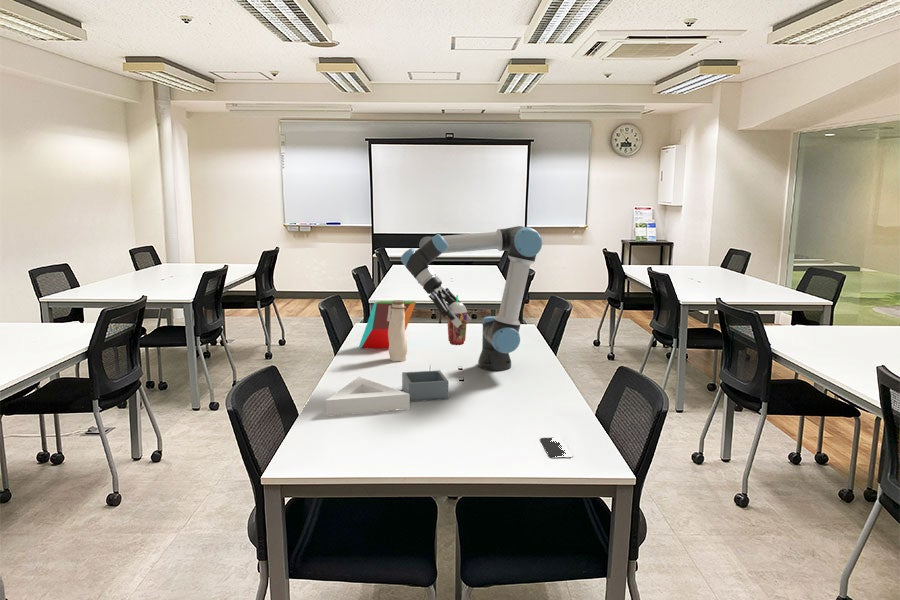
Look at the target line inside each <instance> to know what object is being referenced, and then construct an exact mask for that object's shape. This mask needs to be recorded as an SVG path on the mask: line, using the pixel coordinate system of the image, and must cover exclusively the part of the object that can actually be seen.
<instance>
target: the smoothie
mask: <svg viewBox="0 0 900 600" xmlns="http://www.w3.org/2000/svg"><path fill="white" fill-rule="evenodd" d="M455 297H456V302H454V303H452V304H451V305H450V304H449V306H448V308H449V310H450V312H451V311H452V312H453V313H454V314H455V315H456V317H457V318H458V319H459V320H460V321H461V323H462V324H461V325H460V326H459V327H458V328H457V327H456V326H455V325H454V324H453V323H452V321H451V320H450V319H449V318H448V317H447V316H446V320H447V321H446V323H447V336H448V339H447V340H448V342H449V344H450V345H452V346H462V345H464V343H465V341H466V337H467V336H466V334H467V324H468V323H467V314H468V309H467V307H466V305H465V304H464V303H462V302H461V301H460V302H458V300H459V294H456V296H455Z"/></svg>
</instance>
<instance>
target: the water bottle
mask: <svg viewBox="0 0 900 600" xmlns="http://www.w3.org/2000/svg"><path fill="white" fill-rule="evenodd" d="M392 301H393V304H392V306H389V309H388V318H387V321H390V322H389V328H388V339H389V348H388V354H389V360H390V361H391V360H392V361H391V362H396V361H400V362H405V361H407V355H408V339H407V333H406V331H405V312H404V308H406V306H404V304H403V301H404V300H403V299H402V300H400V299H398V300H397V299H395V300H392Z"/></svg>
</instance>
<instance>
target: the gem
mask: <svg viewBox="0 0 900 600" xmlns="http://www.w3.org/2000/svg"><path fill="white" fill-rule="evenodd" d="M393 301H394V300H392V301H391V300H388V301H386V300H385V301H383V300H382V301H376V302H374V303H373V306H372V309H371V312H370V315H369V317H368V320H367V323H366V326H365V328H364V332H363V334H362V337H361V339H360V343H359V345H358V348H359V347H360V348H359V349H361V348H373V349H389V339H388V328H389V322H390V321H387V318H388V309H389V306H392V304H393ZM402 301H403V304H404V306H406V308H404V312H405V332H406V330H407V327H408V325H409V323H410V320H411V317H412V314H413V311H414V309H415V307H416V304H417V303H416V301H415V300H414V301H413V300H411V301H409V300H407V301H406V300H402Z"/></svg>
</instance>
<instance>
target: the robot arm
mask: <svg viewBox="0 0 900 600" xmlns="http://www.w3.org/2000/svg"><path fill="white" fill-rule="evenodd" d="M418 245H419V248H418V249H415V248H413V247H412V248H409V249H407V250H406V251H405V252H404V253H403V254H401V257H400V261H401V263H402V264H403V266H404V267H405V268H406V269H407V271H408V272H409V274H411V275H412V276H413V277H414V279H415V280H416V282H417V283H418V284H420V286H421V287H422V288H423V290H424V291H425V293H427V294H428V298H429V299H430V300H431V301H432V302H433V304H434V305H435V307H436V308H437V310H438V311H439V313H440V314H441V315H442V316H443V317H446V318H447V317H448V318H449V319H450V320H451V321H452V323H453V324H454V325H455V326H456V327H457V328H458V327H459V326H460V325H461V324H462V323H461V321H460V320H459V319H458V318H457V317H456V315H455V314H454V313H453V312H452V311H451V312H450V310H449V308H448V307H449V306H450V305H451V304H452V303H454V302H456V296H455V294H453V293H452V292H451V291H450V289H449V288H448V287H446V288H443V287H442V285H443V282H442V280H441V278H439V277H438V276H437V275H436V272H434V271H433V270H432V268H431V267H430V266H429V264H431V263H432V262H433V261H434V260H435V259H436V258H438V257H439V256H440V255H442V254H449V253H462V252H463V253H464V252H474V251H475V252H476V251H477V252H478V251H486V250H487V251H488V250H489V251H490V250H498V251H499V252H501V251H502V252H503V251H504V252H506V251H507V252H508V254H507V257H508V259H509V261H510V262H509V266H508V270H507V275H506V280H505V284H504V289H503V293H502V297H501V302H500V307H499V311H498V314H497V315H496V316H494V315H493V316H484V317H483V319H482V340H481V341H482V342H481V344H482V347H481V348H482V349H481V352H480V355H479V357H478V361H477V366H478V368H480V369H483V370H487V371H505V370H509V369H511V367H512V360H511V356H510V353H512V352H515V351H516V350H517V349H518V348H519V346H520V344H521V336H520V335H521V334H520V328H521V322H520V320H519V316H520V311H521V307H522V302H523V298H524V295H525V294H524V293H525V290H526V285H527V281H528V276H529V272H530V267H531V265H532V264H534V263H535V262H536V258H537V254H539V252H540V251H541V250H542V247H543V240H542V237H541V234H540V233H539V232H538V231H537V230H535V228H532V227H527V226H524V225H523V226H521V225H517V226H513V227H506V228H498V229H497V230H496V231H490V232H488V231H487V232H479V233H478V232H477V233H475V232H474V233H463V234H461V233H460V234H452V235H441V234H439V233H436V235H434V236H429V235H428V236H424V237H422V238H421V239H420V241H419V244H418ZM458 302H461V301H460V300H459V299H458ZM447 303H448V304H447ZM448 305H449V306H448ZM470 321H472V318H471V317H470V316H469V313H467V323H466V324H469V323H470Z"/></svg>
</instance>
